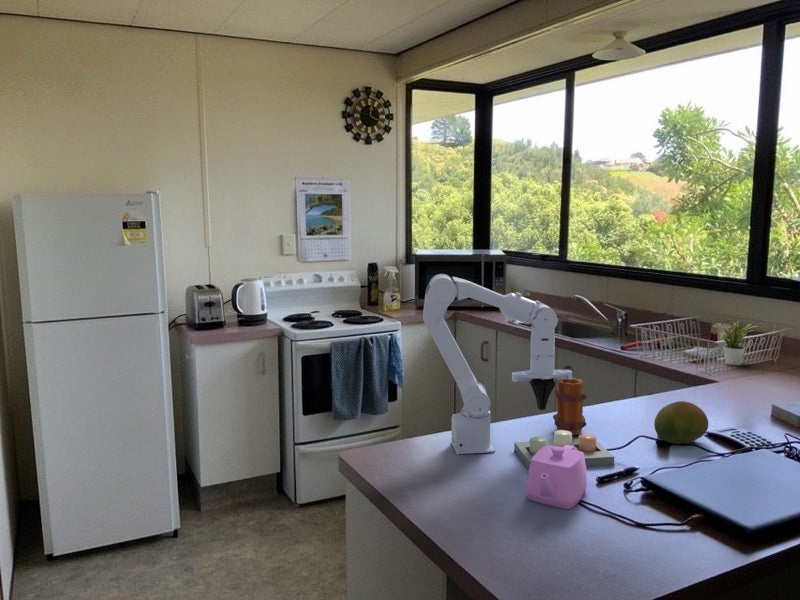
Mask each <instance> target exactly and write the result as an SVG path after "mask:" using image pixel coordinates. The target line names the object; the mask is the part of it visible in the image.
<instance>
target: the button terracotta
mask: <svg viewBox="0 0 800 600" xmlns="http://www.w3.org/2000/svg"><path fill="white" fill-rule="evenodd" d="M578 439H579V448H578V450H579V451H582V452H596V441H597V436H596V435H593V434H590V433H589V434H588V433H581V434H578Z"/></svg>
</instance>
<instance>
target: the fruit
mask: <svg viewBox="0 0 800 600" xmlns="http://www.w3.org/2000/svg"><path fill="white" fill-rule="evenodd" d="M709 425H710V423H709V419H708V417H707V414H706V413H705V411H704V410H703V409H702V408H700V406H697V404H694V403H692V402H690V401H689V402H688V401H686V400H679V401H675V402H672V403H669V404H667V405H665V406H663V407H662V408H661V409H660V410H659V411H657V414H656V416H655V419H654V425H653V426H654V431H655V433H656V434H657V436H658V437H659V438H660V439H662V440H663V441H665V442H667V443H669V444H675V445H679V444H680V445H681V444H687V443H691V442H695V441H697V440H699V439H700V438H701V437H703V436H704V435H705V434H706V433H707V431H708V429H709Z"/></svg>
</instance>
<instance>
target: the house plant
mask: <svg viewBox="0 0 800 600" xmlns="http://www.w3.org/2000/svg"><path fill="white" fill-rule="evenodd" d="M717 324H718V325H720V328H721V329H722V330H723V331H724V333H722V335H723V336H719V337H718V338H719V339H721V340H723V341H724V342H725V343H726V344H724V345H723V353H724V360H725V361H724V362H725V364H727V365H731V366H741V365H742V362H743V358H744V354H745V351H746V347H745V346H743V345H744V344H745V343H746V342H748V341H749V340H752V341H753V342H754V341H755V340H754V339H753V337H752V338H750V337H749V338H748V337H745V335H746V333H749V332H753V331H755V330H753V329H752V330H751V328H757V327H759V326H758V325H753V323H750V324H748V325H746V326H745V327H743V328H740V323H739V320H738V319H737V320H736V322H735V321H732V324H733V326H732V329H731V330H730V333H729V332H728V330H727V329H726V326H724V325H722V324H721V323H718V322H717ZM752 325H753V326H752ZM749 329H750V330H749ZM745 340H746V341H745ZM742 342H743V343H742ZM741 343H742V345H741Z"/></svg>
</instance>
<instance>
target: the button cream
mask: <svg viewBox="0 0 800 600" xmlns="http://www.w3.org/2000/svg"><path fill="white" fill-rule="evenodd" d="M553 433H554V434H553V435H554V436H553V437H554V439H553V440H554V446H558V447H562V448H563V447H564V446H565V445H569V446H572V439H573V436H572V433H571V432H569V431H566V430H558V431H557V430H555V431H554V432H553Z"/></svg>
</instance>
